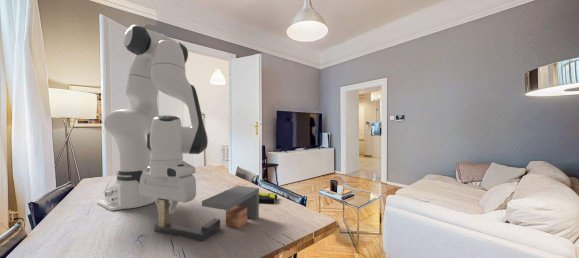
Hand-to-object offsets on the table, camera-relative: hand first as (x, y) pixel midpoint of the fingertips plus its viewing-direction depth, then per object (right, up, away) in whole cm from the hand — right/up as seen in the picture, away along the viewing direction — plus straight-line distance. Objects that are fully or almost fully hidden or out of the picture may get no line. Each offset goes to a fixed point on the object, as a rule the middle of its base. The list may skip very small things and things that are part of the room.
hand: (166, 212), depth 65 cm
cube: (+21, -6, +5) cm, 22 cm away
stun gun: (+22, -6, +25) cm, 34 cm away
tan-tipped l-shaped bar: (+6, -6, 0) cm, 9 cm away
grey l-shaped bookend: (+20, -6, +3) cm, 21 cm away
